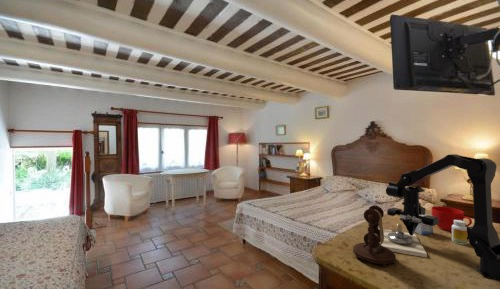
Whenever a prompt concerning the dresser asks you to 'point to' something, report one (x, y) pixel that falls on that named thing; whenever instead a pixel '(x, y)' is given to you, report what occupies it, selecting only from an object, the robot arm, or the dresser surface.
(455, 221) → the supplement bottle
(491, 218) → the robot arm
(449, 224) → the ceramic cup
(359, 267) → the dresser surface
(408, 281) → the dresser surface
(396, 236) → the cam lever
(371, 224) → the brown tall stacked figurine
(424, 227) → the medicine box
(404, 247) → the ash stand
